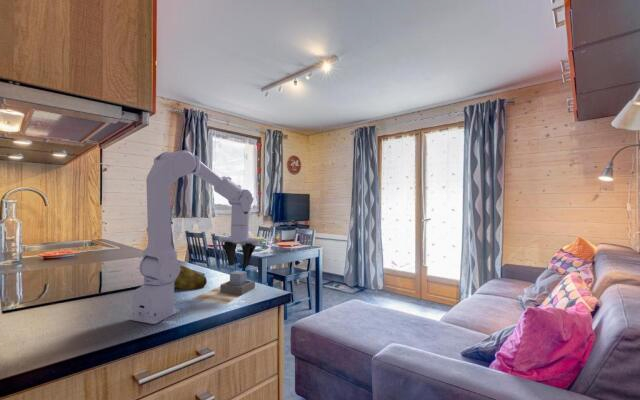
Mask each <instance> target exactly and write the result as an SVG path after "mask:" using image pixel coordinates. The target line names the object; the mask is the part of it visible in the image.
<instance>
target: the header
mask: <svg viewBox="0 0 640 400" xmlns="http://www.w3.org/2000/svg"><path fill="white" fill-rule="evenodd" d="M219 287H220V292H222V293H229V294H237V295H242V296H243V295H245V294H247V293H249V292H250V291H252V289H253V290H255V289H256V281H255V280H251V279H247V284H245V285H242V286H235V285H230V280H228V281H226V282H224V283H221V284H220V286H219ZM254 288H255V289H254Z"/></svg>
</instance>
